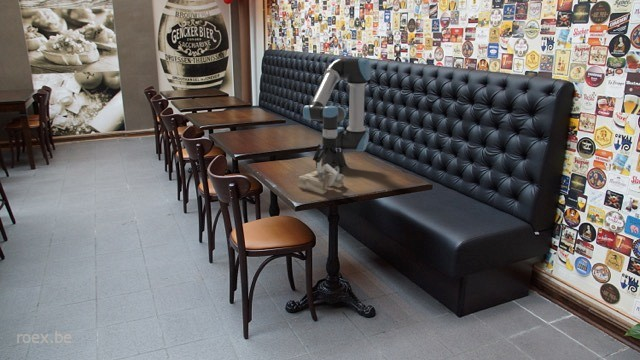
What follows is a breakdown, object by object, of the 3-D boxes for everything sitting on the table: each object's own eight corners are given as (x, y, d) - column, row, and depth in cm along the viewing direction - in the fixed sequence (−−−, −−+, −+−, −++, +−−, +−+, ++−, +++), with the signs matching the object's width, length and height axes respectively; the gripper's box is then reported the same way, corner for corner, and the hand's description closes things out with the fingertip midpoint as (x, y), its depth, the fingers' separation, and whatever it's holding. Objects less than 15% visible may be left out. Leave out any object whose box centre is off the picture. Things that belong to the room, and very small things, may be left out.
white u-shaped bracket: (321, 176, 254) (327, 163, 249) (332, 185, 251) (338, 172, 246) (318, 177, 252) (323, 164, 247) (328, 186, 248) (334, 173, 244)
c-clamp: (320, 179, 265) (320, 161, 262) (343, 185, 256) (344, 167, 253) (298, 187, 252) (298, 168, 249) (322, 193, 242) (322, 174, 239)
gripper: (306, 134, 247) (306, 173, 254) (345, 141, 232) (343, 183, 239) (315, 132, 253) (315, 170, 259) (354, 139, 238) (352, 180, 244)
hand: (328, 176), depth 249 cm, fingers open, 13 cm apart
